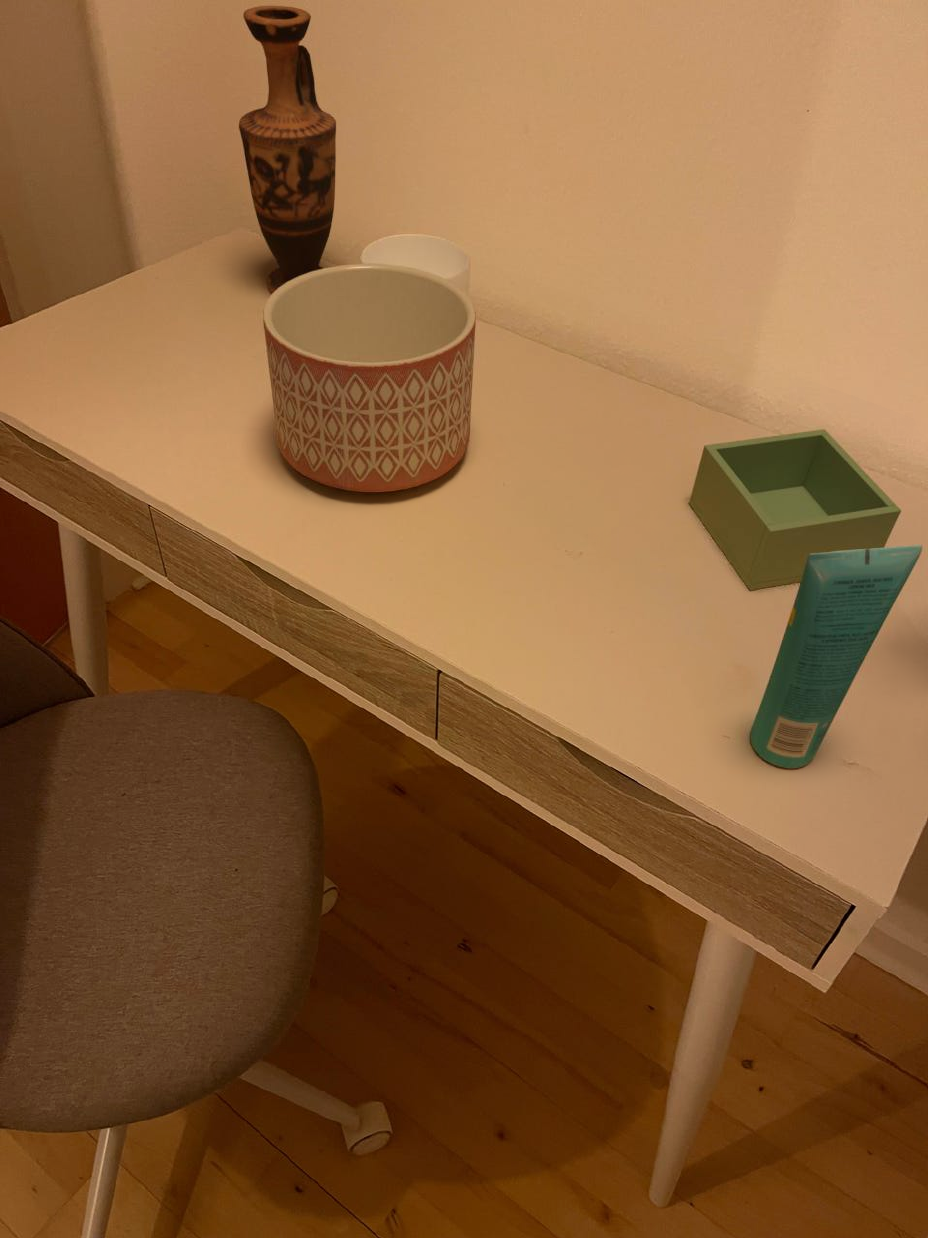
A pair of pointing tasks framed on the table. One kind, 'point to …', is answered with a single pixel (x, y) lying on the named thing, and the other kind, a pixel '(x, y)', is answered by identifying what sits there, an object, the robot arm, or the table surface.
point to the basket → (787, 504)
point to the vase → (289, 148)
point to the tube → (826, 646)
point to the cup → (422, 256)
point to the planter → (371, 375)
